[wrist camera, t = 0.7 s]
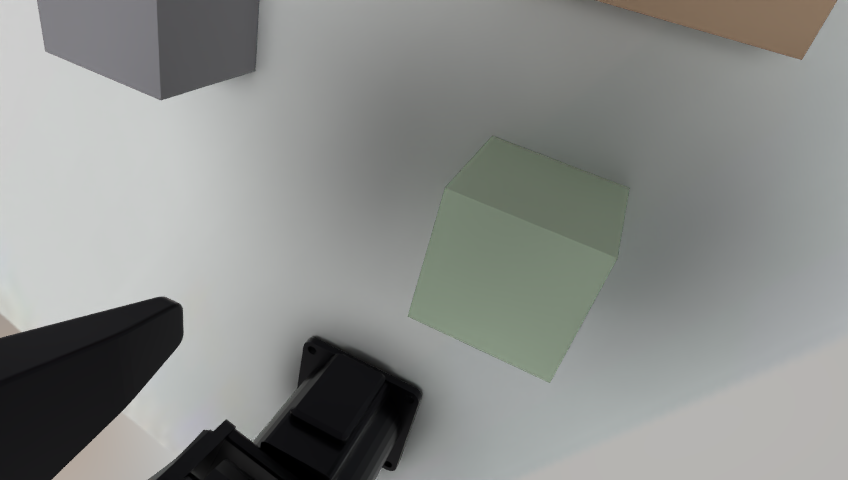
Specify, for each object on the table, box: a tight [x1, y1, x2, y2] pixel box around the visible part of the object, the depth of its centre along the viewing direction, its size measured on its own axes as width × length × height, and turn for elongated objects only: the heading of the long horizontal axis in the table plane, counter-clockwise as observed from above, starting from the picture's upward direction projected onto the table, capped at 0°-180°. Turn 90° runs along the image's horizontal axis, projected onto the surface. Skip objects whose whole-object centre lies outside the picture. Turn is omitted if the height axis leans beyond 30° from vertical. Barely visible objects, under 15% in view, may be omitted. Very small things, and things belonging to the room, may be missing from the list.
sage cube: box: [408, 136, 630, 383], centre depth 18 cm, size 5×5×5 cm
